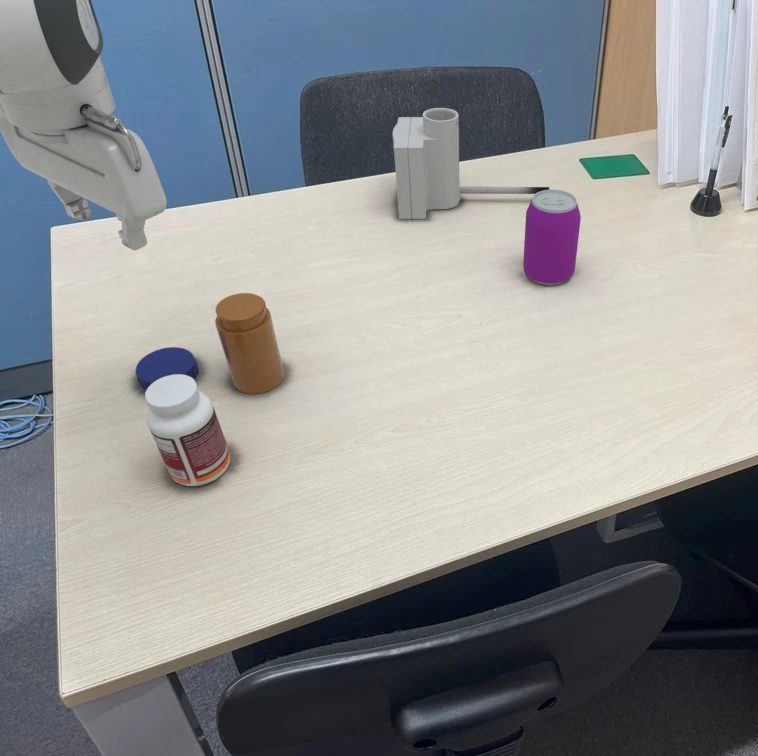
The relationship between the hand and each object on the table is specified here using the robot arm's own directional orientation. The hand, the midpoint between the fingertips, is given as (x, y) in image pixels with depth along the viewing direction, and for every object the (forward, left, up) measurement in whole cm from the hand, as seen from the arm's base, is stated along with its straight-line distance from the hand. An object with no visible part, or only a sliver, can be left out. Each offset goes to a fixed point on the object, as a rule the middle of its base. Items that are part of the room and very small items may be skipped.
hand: (107, 231), depth 72 cm
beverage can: (+51, -16, -20) cm, 57 cm away
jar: (+8, -8, -20) cm, 23 cm away
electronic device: (+58, +8, -20) cm, 62 cm away
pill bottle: (-4, -16, -20) cm, 26 cm away
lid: (+1, 0, -18) cm, 18 cm away
